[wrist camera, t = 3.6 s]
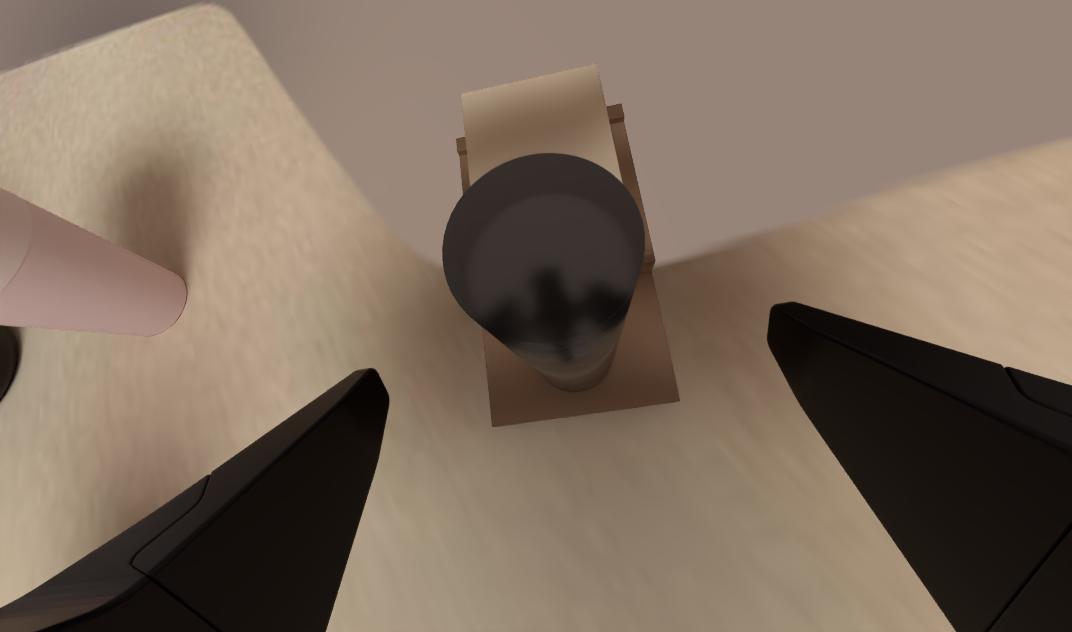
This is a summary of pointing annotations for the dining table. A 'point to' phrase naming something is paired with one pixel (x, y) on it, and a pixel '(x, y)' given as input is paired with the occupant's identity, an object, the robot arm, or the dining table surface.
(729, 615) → the dining table surface
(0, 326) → the supplement bottle
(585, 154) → the birch block
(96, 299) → the smoothie
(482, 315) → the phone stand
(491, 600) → the dining table surface
